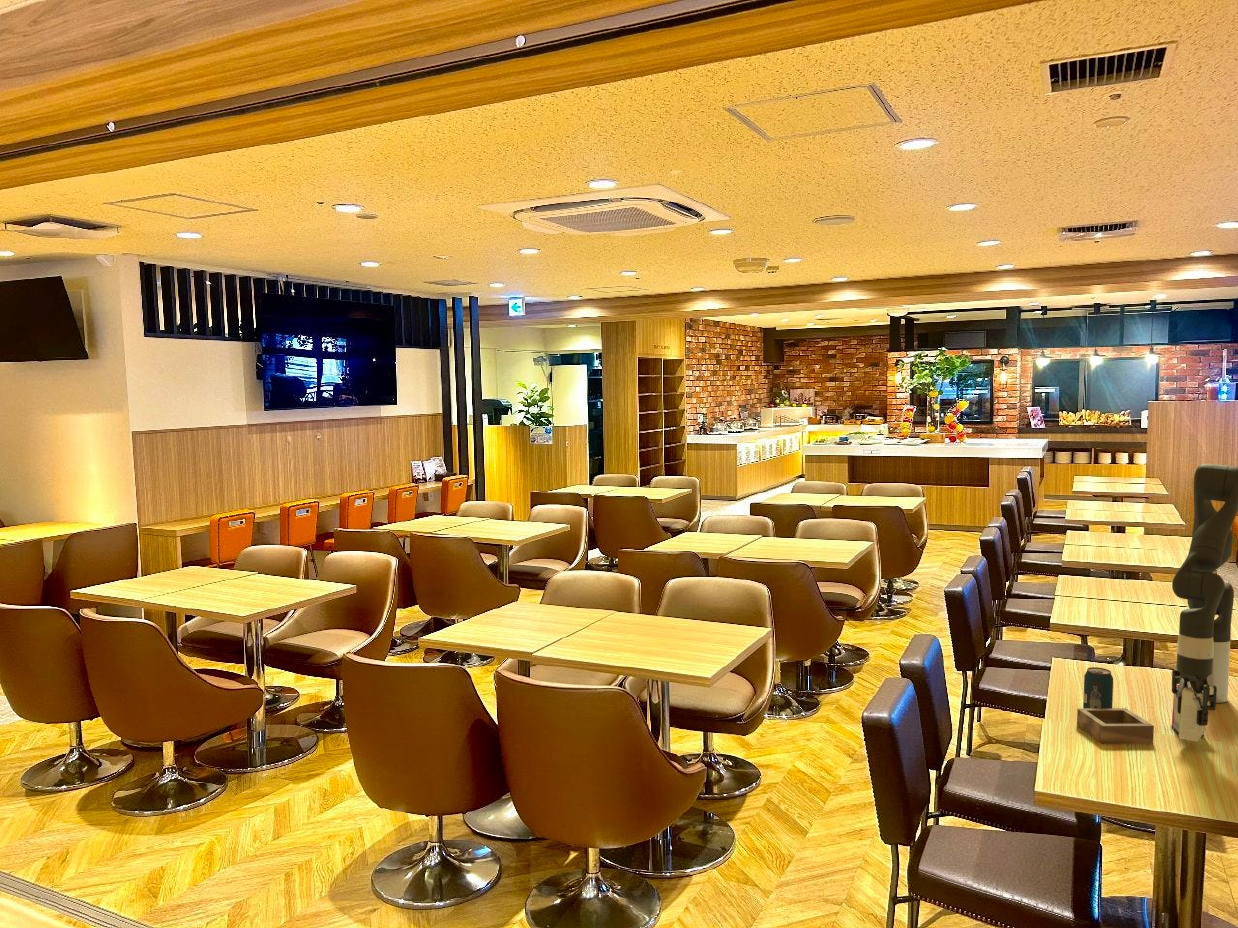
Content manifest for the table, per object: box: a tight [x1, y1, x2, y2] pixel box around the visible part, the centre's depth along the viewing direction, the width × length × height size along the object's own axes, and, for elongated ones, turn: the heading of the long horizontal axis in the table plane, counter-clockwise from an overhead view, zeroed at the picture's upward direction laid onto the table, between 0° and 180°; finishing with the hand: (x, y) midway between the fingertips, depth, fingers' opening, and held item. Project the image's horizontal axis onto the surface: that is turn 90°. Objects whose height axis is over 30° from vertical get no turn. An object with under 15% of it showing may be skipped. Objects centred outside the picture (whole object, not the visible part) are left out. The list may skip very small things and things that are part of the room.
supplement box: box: [1171, 684, 1206, 738], centre depth 237 cm, size 6×6×12 cm
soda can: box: [1082, 666, 1114, 708], centre depth 250 cm, size 7×7×12 cm
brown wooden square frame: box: [1076, 707, 1155, 745], centre depth 236 cm, size 13×13×4 cm
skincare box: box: [1178, 687, 1203, 743], centre depth 227 cm, size 6×4×12 cm
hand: (1191, 719), depth 227 cm, fingers closed on skincare box, 7 cm apart
